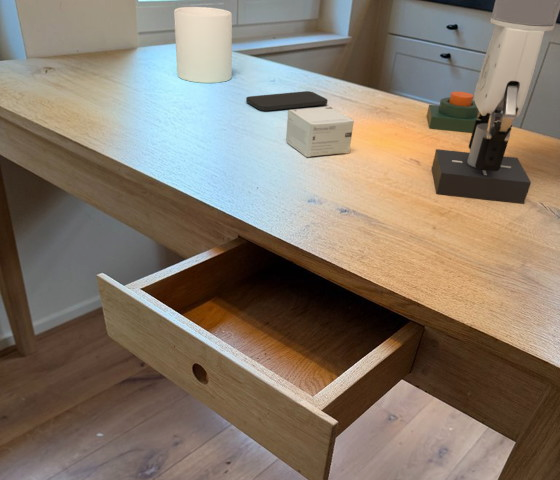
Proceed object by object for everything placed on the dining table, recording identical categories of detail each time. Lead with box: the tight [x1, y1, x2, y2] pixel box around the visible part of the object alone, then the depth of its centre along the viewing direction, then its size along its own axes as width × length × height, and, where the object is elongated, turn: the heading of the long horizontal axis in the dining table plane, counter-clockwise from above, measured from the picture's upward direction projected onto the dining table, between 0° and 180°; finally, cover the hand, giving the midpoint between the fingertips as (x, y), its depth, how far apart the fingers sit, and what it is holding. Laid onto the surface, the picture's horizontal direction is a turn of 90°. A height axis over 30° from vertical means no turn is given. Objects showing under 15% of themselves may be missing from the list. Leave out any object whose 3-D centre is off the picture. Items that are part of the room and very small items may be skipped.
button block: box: [426, 97, 479, 134], centre depth 104 cm, size 10×8×4 cm
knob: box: [467, 123, 495, 168], centre depth 78 cm, size 4×4×5 cm
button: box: [449, 91, 474, 106], centre depth 102 cm, size 4×4×2 cm
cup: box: [173, 6, 233, 84], centre depth 118 cm, size 12×12×12 cm
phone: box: [245, 90, 328, 111], centre depth 109 cm, size 7×1×15 cm
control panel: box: [431, 149, 532, 204], centre depth 81 cm, size 12×10×3 cm
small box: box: [285, 106, 355, 158], centre depth 89 cm, size 8×8×5 cm
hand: (483, 158), depth 79 cm, fingers open, 7 cm apart
